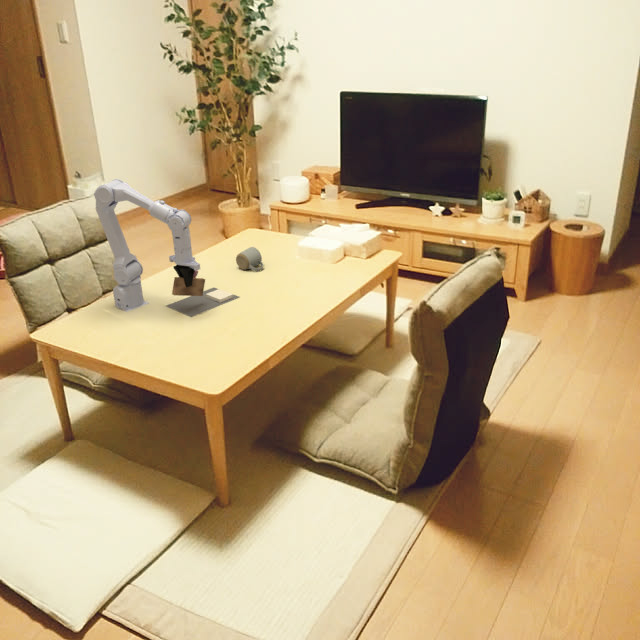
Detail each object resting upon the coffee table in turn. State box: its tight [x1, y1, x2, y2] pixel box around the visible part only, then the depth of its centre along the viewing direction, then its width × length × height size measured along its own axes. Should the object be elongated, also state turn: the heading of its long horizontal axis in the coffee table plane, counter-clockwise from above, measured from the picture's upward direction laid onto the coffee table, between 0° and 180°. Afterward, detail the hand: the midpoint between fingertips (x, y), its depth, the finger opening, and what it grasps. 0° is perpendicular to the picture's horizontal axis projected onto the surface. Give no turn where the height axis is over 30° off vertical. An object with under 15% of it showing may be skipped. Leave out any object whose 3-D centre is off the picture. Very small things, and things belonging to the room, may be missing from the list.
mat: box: [165, 287, 241, 318], centre depth 237 cm, size 22×15×1 cm
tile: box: [206, 288, 234, 303], centre depth 240 cm, size 1×8×6 cm
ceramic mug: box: [235, 246, 264, 272], centre depth 267 cm, size 11×8×8 cm
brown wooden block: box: [171, 276, 206, 297], centre depth 229 cm, size 12×2×6 cm, turn 138°
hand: (187, 285), depth 228 cm, fingers closed on brown wooden block, 1 cm apart
